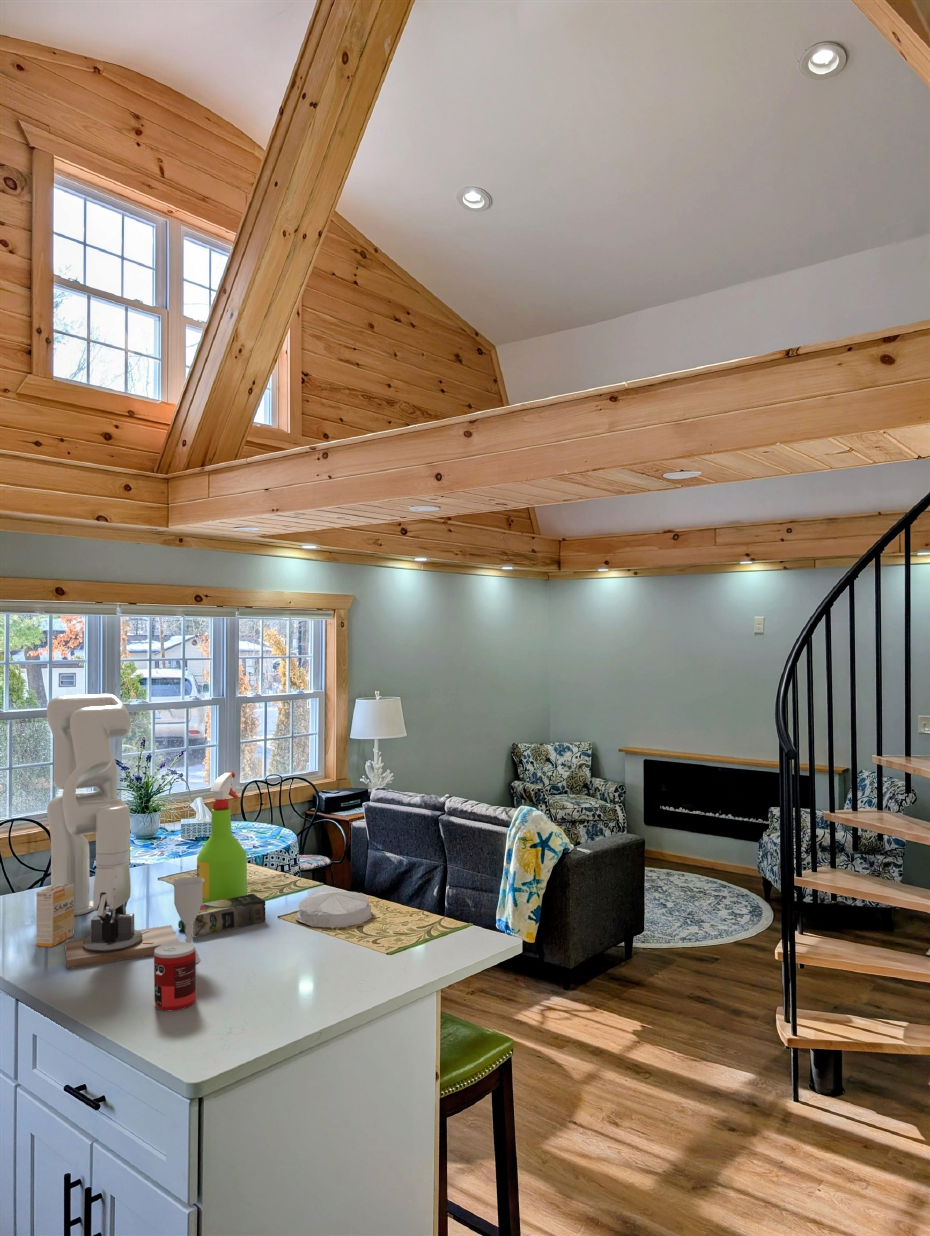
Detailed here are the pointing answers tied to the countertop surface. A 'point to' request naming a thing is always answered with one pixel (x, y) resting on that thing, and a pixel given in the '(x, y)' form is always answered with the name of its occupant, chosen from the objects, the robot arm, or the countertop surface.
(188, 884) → the chalice
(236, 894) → the spray bottle
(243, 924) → the juice carton
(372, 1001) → the countertop surface
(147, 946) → the dial panel
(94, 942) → the dial
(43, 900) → the supplement box
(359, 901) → the white round cake
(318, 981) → the countertop surface
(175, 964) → the canned food
